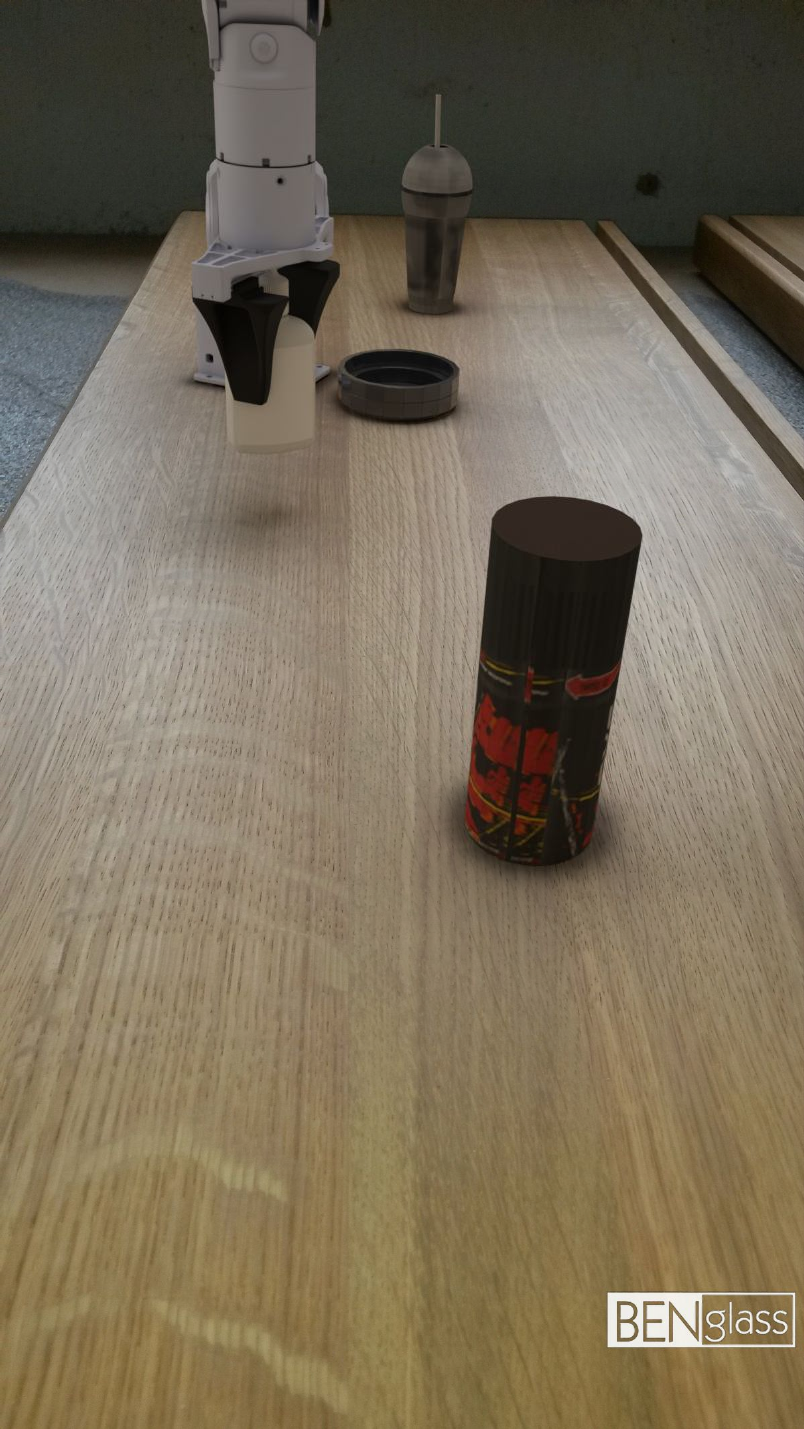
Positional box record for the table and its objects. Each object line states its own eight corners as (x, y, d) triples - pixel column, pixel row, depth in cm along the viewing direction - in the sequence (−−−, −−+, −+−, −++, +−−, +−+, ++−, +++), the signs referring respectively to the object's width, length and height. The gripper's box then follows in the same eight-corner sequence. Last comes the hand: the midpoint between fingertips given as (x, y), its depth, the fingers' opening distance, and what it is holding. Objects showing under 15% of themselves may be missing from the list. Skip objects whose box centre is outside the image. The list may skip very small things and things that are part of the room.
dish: (318, 410, 100) (318, 374, 98) (367, 375, 108) (368, 342, 106) (431, 432, 97) (433, 395, 95) (473, 394, 105) (476, 360, 103)
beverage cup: (473, 303, 128) (489, 92, 117) (453, 321, 123) (468, 101, 111) (408, 294, 130) (418, 85, 119) (385, 311, 124) (393, 94, 113)
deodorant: (457, 785, 59) (481, 495, 50) (578, 783, 59) (622, 496, 51) (473, 867, 54) (503, 561, 45) (605, 863, 54) (659, 561, 46)
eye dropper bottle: (306, 461, 78) (305, 268, 71) (221, 453, 79) (212, 260, 72) (320, 436, 82) (321, 250, 75) (238, 428, 82) (232, 243, 75)
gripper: (269, 188, 64) (273, 436, 71) (379, 148, 75) (372, 366, 82) (152, 172, 66) (168, 415, 73) (276, 135, 77) (279, 349, 84)
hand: (270, 388), depth 78 cm, fingers closed on eye dropper bottle, 5 cm apart
